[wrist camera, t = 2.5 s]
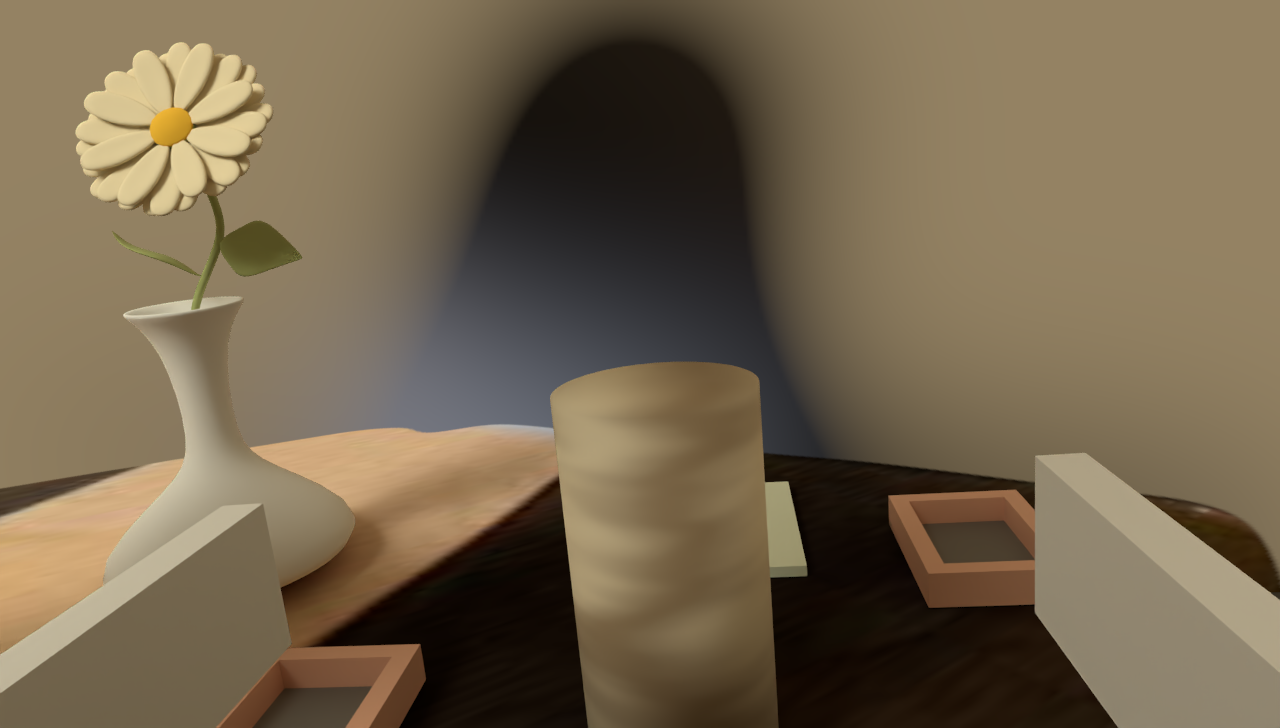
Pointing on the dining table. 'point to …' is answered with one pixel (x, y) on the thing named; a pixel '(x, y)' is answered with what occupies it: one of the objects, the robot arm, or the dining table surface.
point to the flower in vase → (200, 328)
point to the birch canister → (668, 545)
